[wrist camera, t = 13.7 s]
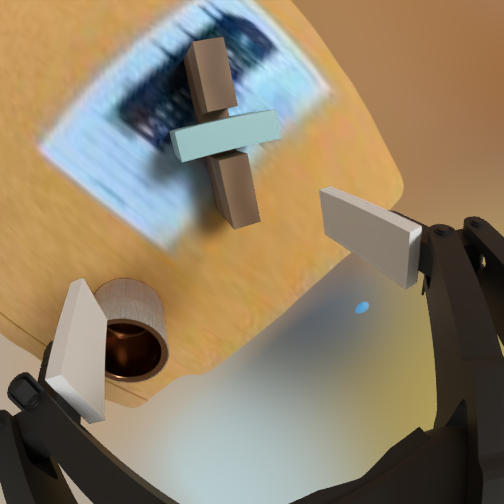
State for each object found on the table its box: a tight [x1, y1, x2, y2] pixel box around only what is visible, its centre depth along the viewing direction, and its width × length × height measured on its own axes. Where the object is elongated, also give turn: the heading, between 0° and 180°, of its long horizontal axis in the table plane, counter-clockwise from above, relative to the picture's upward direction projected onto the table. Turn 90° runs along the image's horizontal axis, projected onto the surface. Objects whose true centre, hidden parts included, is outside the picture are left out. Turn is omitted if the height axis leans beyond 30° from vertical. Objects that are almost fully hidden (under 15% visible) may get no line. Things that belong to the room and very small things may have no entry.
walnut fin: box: [183, 37, 261, 230], centre depth 31 cm, size 3×20×8 cm, turn 10°
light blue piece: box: [169, 110, 281, 162], centre depth 30 cm, size 10×3×9 cm, turn 100°
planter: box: [94, 278, 169, 383], centre depth 36 cm, size 11×11×10 cm
